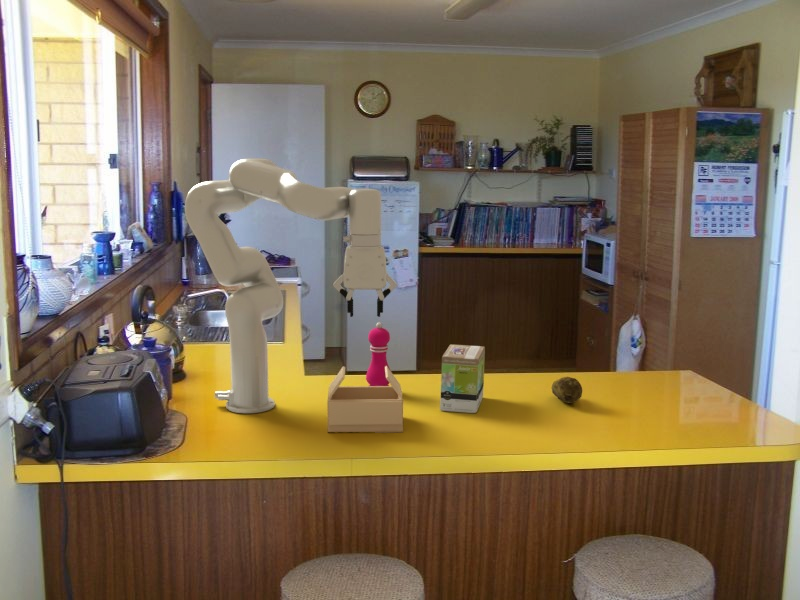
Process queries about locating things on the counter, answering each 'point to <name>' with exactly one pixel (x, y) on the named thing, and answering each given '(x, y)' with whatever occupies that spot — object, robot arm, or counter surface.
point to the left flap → (336, 382)
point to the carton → (365, 409)
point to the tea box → (462, 378)
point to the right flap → (393, 381)
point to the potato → (567, 389)
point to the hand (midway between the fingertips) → (365, 315)
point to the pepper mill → (378, 356)
